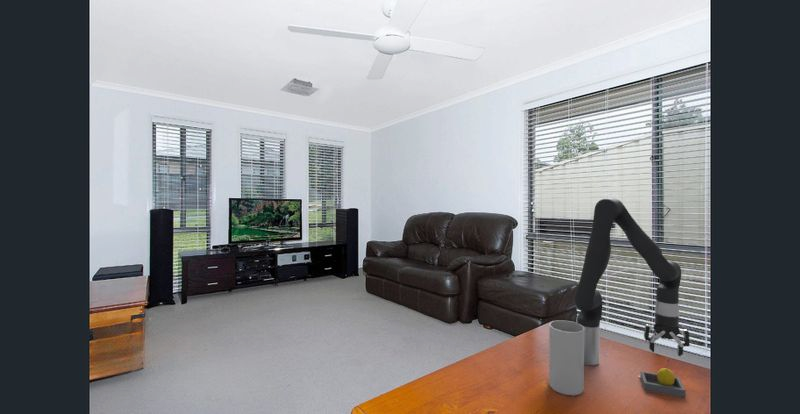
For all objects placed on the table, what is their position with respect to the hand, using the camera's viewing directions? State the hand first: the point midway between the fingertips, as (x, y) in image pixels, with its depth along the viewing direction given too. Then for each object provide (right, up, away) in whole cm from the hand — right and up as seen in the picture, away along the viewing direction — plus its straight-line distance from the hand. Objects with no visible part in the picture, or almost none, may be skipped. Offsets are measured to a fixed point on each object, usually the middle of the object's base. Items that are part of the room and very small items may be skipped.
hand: (665, 353), depth 145 cm
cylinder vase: (-38, -15, +2) cm, 41 cm away
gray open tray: (-1, -14, +1) cm, 14 cm away
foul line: (+2, -14, +6) cm, 15 cm away
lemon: (0, -14, +1) cm, 14 cm away
